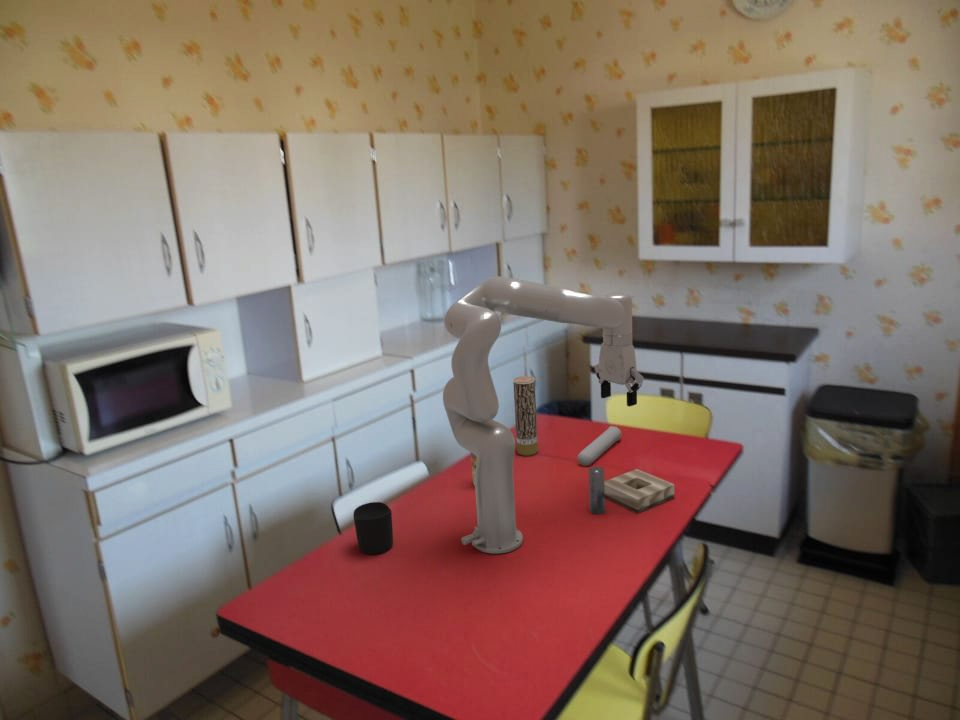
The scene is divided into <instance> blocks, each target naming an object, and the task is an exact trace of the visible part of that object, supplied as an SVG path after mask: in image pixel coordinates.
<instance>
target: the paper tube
mask: <svg viewBox="0 0 960 720" xmlns="http://www.w3.org/2000/svg"><path fill="white" fill-rule="evenodd" d="M513 399H514V401H513V402H514V419H515V421H514V422H515V437H516V438H515V439H516V440H515V442H516V451H517V453H518V455H520V456H524V457H529V456H535V455H536V454H537V453H538V451H539V447H538V427H537V426H538V425H537V423H538V421H537V404H536V403H537V402H536V381H535V377H533V376H528V375H527V376H526V375H525V376H518V377H515V378H513Z"/></svg>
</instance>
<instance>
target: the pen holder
mask: <svg viewBox="0 0 960 720" xmlns="http://www.w3.org/2000/svg"><path fill="white" fill-rule="evenodd" d="M352 516H353V521H354V527H355V534H356V540H357V544H358V549H359V551H360V552H361V553H362V554H364V553H365V554H364V555H369V554H370V556H373V555H374V556H376V555H381V554H383V553H386V552H388V551H389V550H390V549H391V548H392V546H393V545H394V533H393V514H392V509H391V508H390V506H388V505H387V504H386V503H384V502H381V501H373V502H367V503H364V504H361V505H358V506H357V507H356V508H355V509H354V510H353V515H352ZM375 554H376V555H375Z"/></svg>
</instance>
